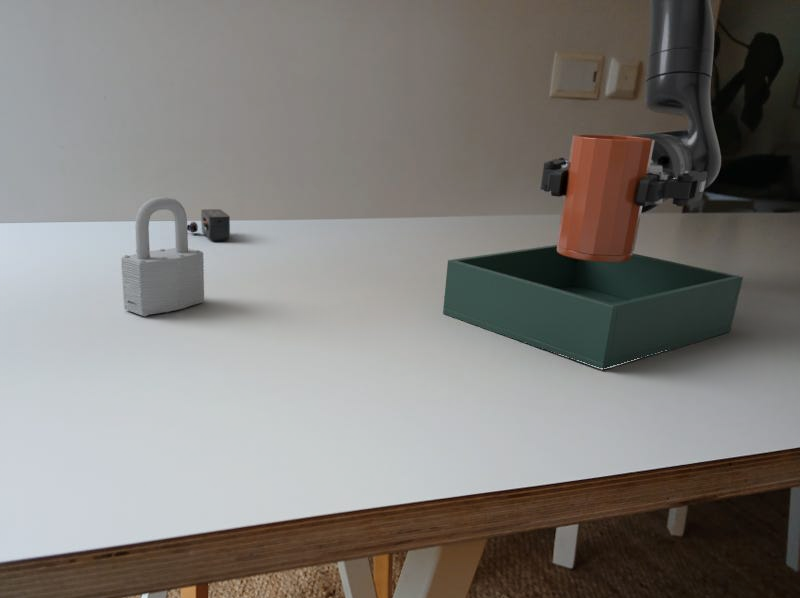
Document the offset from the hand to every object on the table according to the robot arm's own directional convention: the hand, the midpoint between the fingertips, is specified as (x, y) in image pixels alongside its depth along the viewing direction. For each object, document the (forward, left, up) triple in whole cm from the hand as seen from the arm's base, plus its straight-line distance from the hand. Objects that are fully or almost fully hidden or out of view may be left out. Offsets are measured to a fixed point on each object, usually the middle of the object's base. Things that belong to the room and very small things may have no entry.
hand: (598, 188), depth 62 cm
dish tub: (-2, -1, -12) cm, 12 cm away
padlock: (+29, -24, -12) cm, 39 cm away
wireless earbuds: (+10, -52, -12) cm, 54 cm away
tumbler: (-2, -1, -6) cm, 6 cm away
